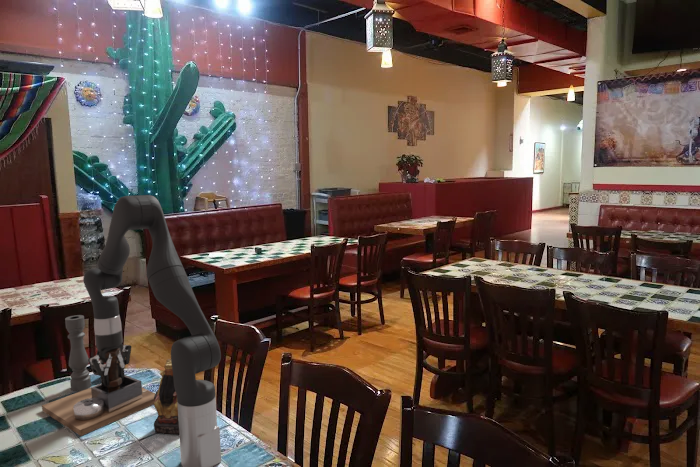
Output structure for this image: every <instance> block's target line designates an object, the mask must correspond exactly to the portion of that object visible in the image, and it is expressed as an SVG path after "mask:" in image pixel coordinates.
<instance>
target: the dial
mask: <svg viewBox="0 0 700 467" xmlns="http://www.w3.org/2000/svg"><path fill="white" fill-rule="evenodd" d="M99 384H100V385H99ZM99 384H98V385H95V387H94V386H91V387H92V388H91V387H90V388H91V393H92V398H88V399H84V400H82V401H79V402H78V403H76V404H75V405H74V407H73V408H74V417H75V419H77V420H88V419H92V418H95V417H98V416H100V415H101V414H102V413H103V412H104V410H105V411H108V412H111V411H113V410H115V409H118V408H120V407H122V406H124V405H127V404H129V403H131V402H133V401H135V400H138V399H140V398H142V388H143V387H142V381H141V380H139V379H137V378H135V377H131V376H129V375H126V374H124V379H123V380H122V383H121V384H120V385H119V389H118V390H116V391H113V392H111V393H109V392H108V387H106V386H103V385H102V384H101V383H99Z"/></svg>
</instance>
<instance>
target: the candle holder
mask: <svg viewBox="0 0 700 467" xmlns="http://www.w3.org/2000/svg"><path fill="white" fill-rule="evenodd" d="M64 320H65V321H64V323H65V329H66V331H67V332H68V333H69V334H68V335H67V339H68V340H69V341H70V352H69V358H68V367H69V368H70V369H71V371H72V373H71V374H70V380H69V382H70V391H72V392H74V393H77V392H80V391H83V390H86V389H89V388H91V387H92V381H91V375H90V371H89V370H88V369H87V368H88V367H87V366H88V365H89V362H88V359H89V358H90V357H89V355H88V353H87V351H86V348H85V344H84V337H85V336H86V334H85V332H83V331H84V329H85V326H86V324H85V321H86V320H85V316H84V315H82V314H77V315H70V316H67V317H65V319H64Z"/></svg>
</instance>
